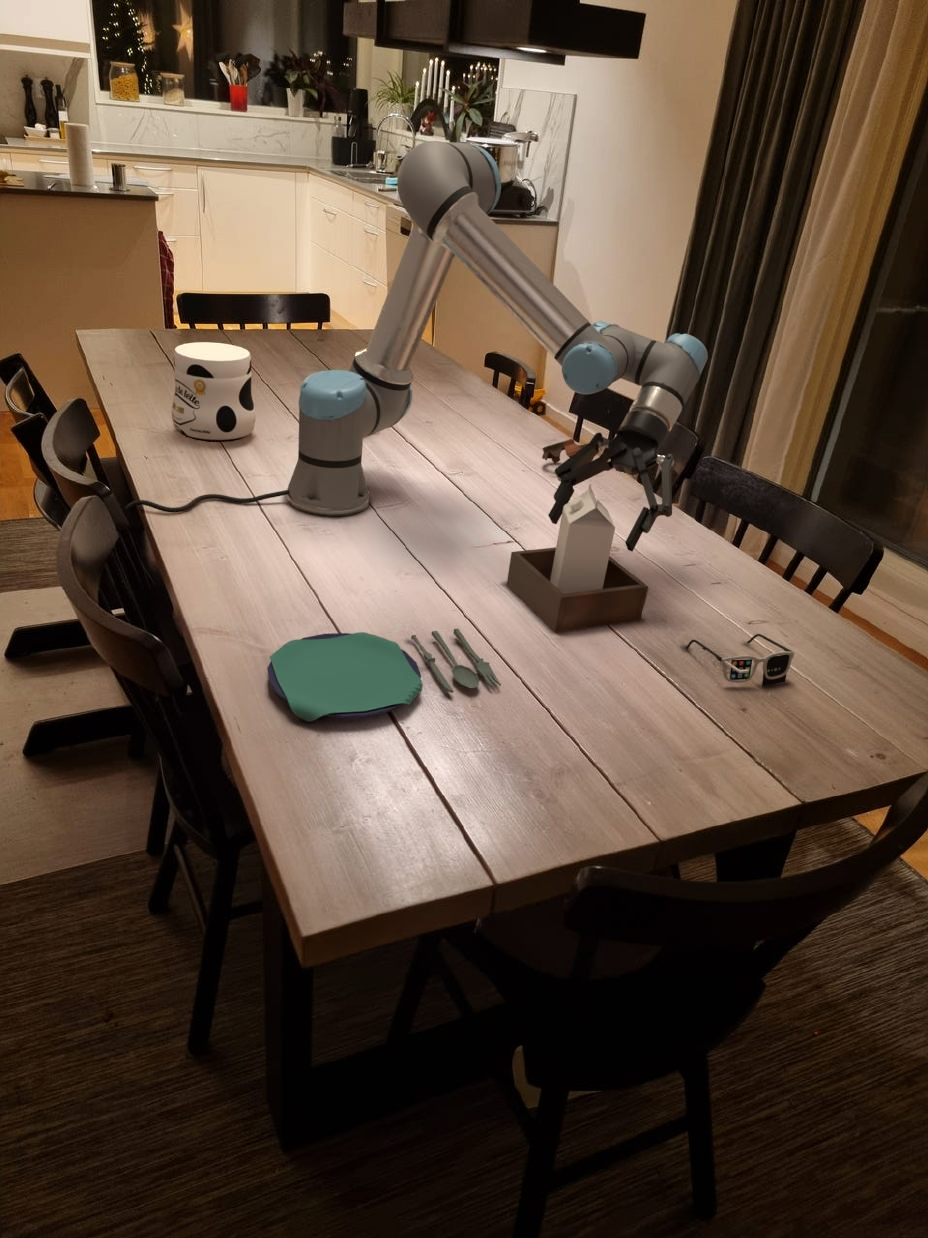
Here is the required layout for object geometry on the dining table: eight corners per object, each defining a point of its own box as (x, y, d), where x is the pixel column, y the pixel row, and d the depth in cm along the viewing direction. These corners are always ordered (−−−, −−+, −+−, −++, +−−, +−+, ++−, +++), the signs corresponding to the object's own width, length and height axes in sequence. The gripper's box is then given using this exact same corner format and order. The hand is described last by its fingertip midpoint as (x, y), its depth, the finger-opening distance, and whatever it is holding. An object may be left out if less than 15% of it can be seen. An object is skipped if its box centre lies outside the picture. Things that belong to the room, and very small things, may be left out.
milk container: (156, 439, 191) (152, 352, 182) (197, 417, 206) (194, 336, 197) (233, 454, 188) (232, 367, 180) (268, 431, 203) (269, 349, 195)
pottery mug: (558, 482, 197) (548, 445, 196) (542, 486, 206) (532, 450, 205) (607, 467, 200) (597, 430, 199) (588, 471, 209) (579, 436, 208)
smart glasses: (734, 700, 126) (738, 667, 125) (680, 662, 139) (684, 632, 138) (807, 692, 130) (813, 660, 128) (748, 656, 143) (753, 626, 141)
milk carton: (590, 593, 151) (612, 485, 142) (597, 614, 145) (620, 503, 136) (548, 589, 151) (567, 481, 141) (553, 610, 144) (573, 498, 135)
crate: (554, 632, 138) (561, 597, 135) (506, 584, 151) (511, 551, 148) (640, 619, 145) (648, 586, 142) (587, 575, 157) (594, 543, 154)
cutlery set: (252, 653, 124) (252, 638, 123) (455, 630, 135) (457, 616, 134) (287, 739, 108) (287, 724, 107) (513, 705, 120) (516, 690, 119)
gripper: (724, 455, 145) (665, 569, 141) (585, 415, 156) (528, 519, 152) (720, 429, 138) (659, 548, 134) (576, 389, 149) (515, 497, 145)
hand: (589, 533), depth 143 cm, fingers open, 13 cm apart
